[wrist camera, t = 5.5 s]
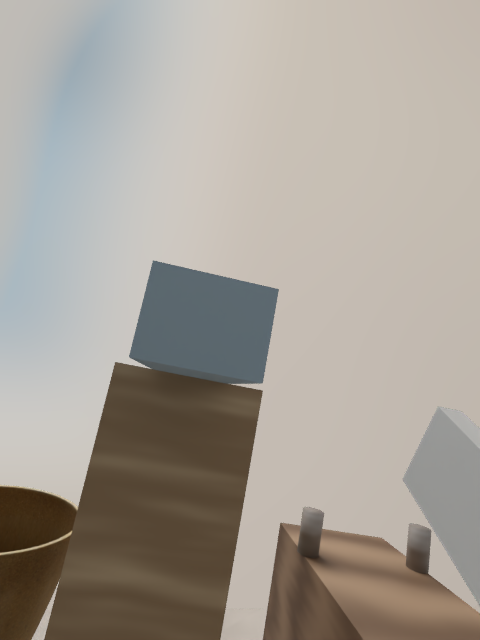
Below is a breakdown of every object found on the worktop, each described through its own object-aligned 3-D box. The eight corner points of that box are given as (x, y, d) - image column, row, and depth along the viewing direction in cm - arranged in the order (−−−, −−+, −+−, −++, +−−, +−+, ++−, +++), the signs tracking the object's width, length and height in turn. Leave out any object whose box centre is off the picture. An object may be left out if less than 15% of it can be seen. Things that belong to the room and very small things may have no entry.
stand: (128, 1172, 14) (262, 390, 20) (-96, 1187, 13) (115, 362, 19) (155, 783, 28) (230, 388, 34) (46, 776, 27) (143, 371, 33)
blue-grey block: (262, 383, 11) (278, 289, 12) (129, 357, 10) (153, 260, 11) (209, 383, 32) (215, 350, 33) (164, 375, 32) (172, 342, 32)
